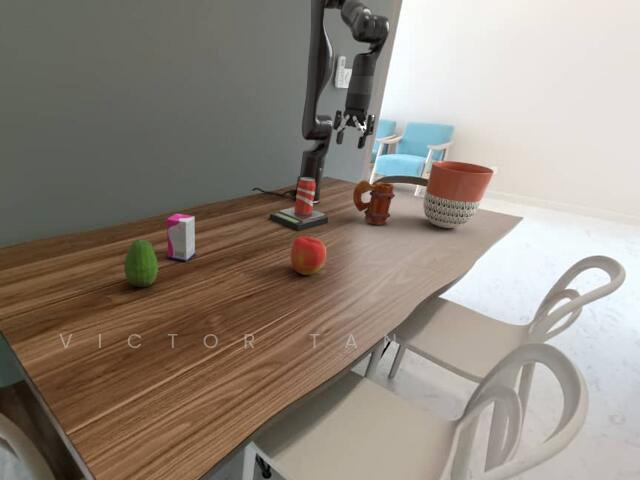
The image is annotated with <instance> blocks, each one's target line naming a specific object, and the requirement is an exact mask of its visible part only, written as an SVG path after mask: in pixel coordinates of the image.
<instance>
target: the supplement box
mask: <svg viewBox="0 0 640 480" xmlns="http://www.w3.org/2000/svg"><path fill="white" fill-rule="evenodd" d="M166 231H167V234H166V235H167V236H166V237H167V257H168V259H171V260H176V261H180V262H185V263H186V262H188V261H189V260H190V259H192V257H194V256H195V254H196V252H195V251H196V249H195V247H196V245H195V244H196V241H195V239H196V238H195V237H196V236H195V235H196V233H195V216H194V215H189V214H182V213H174V214H173V215H171V216H169V217H168V218H167V219H166Z"/></svg>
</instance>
